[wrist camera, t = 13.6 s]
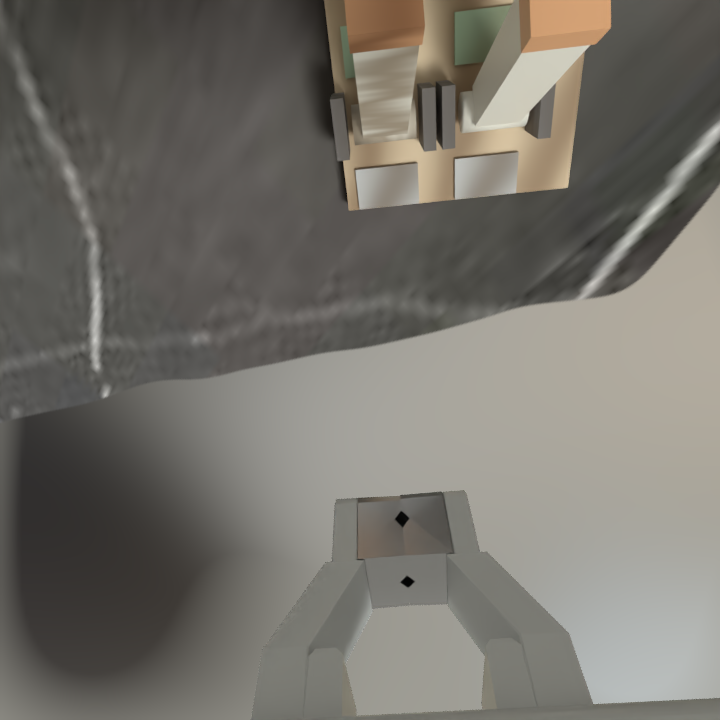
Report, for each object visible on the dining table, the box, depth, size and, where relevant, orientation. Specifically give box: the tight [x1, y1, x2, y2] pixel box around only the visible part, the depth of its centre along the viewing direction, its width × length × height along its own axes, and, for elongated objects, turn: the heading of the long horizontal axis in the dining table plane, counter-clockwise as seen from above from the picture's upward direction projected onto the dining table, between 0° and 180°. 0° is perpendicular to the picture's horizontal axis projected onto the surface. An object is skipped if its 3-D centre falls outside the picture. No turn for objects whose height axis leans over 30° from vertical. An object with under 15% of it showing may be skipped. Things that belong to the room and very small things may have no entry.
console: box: [324, 0, 585, 211], centre depth 28 cm, size 16×14×16 cm
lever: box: [458, 0, 611, 133], centre depth 26 cm, size 4×3×15 cm, turn 96°
